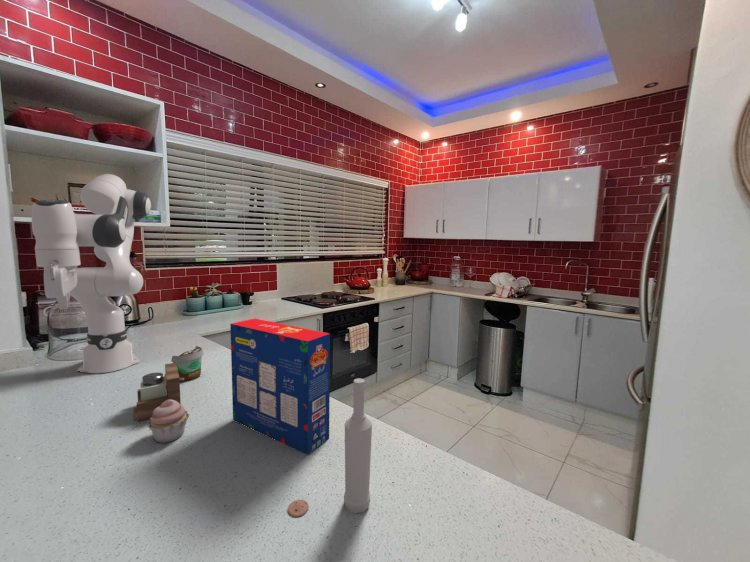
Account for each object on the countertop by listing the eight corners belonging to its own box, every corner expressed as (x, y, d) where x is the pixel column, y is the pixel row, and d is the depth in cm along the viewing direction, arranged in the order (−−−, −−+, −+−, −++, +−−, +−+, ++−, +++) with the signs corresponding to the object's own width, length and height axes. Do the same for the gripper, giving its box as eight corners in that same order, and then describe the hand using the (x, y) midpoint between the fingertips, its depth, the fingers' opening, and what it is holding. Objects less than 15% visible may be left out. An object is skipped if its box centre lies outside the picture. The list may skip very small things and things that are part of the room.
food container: (187, 385, 115) (186, 357, 113) (172, 383, 116) (171, 356, 115) (211, 372, 127) (210, 346, 125) (197, 370, 128) (196, 345, 127)
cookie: (308, 500, 65) (308, 495, 65) (308, 516, 61) (308, 511, 61) (288, 503, 64) (288, 498, 64) (287, 520, 61) (287, 515, 60)
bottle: (343, 494, 67) (345, 375, 64) (369, 492, 67) (372, 374, 64) (343, 515, 62) (345, 386, 59) (371, 513, 62) (374, 386, 59)
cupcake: (145, 451, 79) (142, 411, 78) (150, 431, 87) (148, 395, 86) (190, 441, 83) (188, 403, 82) (191, 423, 91) (189, 388, 90)
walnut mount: (134, 404, 101) (132, 369, 100) (177, 395, 107) (175, 362, 106) (133, 425, 90) (130, 386, 88) (181, 414, 96) (179, 377, 95)
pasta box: (329, 438, 86) (330, 333, 82) (307, 455, 79) (307, 341, 76) (256, 408, 100) (254, 318, 97) (233, 420, 93) (230, 323, 90)
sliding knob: (142, 405, 99) (140, 373, 98) (165, 400, 103) (164, 369, 101) (142, 416, 94) (139, 382, 92) (167, 410, 97) (165, 377, 96)
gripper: (67, 262, 85) (73, 314, 87) (79, 256, 101) (84, 301, 103) (32, 263, 81) (39, 318, 83) (51, 257, 98) (57, 303, 100)
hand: (64, 308), depth 93 cm, fingers closed
